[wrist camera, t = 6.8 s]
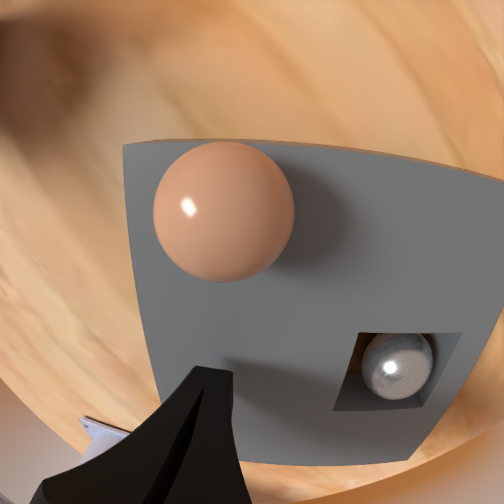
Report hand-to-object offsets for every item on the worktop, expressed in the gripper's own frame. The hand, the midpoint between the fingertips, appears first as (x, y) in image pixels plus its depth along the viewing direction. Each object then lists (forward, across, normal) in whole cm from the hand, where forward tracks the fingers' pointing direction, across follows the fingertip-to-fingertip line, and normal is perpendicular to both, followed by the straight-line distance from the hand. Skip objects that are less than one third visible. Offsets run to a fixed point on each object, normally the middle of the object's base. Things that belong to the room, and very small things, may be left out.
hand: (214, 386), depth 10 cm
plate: (+3, -4, 0) cm, 5 cm away
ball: (+1, 0, -6) cm, 7 cm away
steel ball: (+3, -7, 0) cm, 8 cm away
